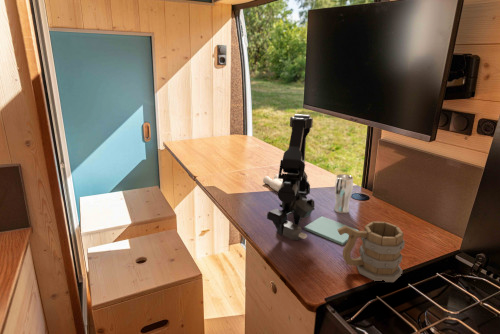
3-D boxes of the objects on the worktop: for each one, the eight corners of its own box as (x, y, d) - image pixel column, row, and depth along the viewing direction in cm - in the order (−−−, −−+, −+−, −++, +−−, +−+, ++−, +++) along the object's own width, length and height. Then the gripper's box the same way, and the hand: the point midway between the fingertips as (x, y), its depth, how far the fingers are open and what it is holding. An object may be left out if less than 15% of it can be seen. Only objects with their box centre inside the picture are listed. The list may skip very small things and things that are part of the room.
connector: (274, 231, 129) (274, 221, 127) (281, 227, 131) (281, 218, 130) (302, 244, 121) (302, 234, 119) (308, 239, 123) (309, 229, 122)
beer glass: (329, 208, 147) (332, 175, 142) (343, 205, 150) (346, 173, 145) (339, 215, 141) (342, 181, 136) (353, 212, 144) (357, 178, 139)
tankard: (391, 258, 113) (398, 216, 108) (406, 283, 101) (414, 238, 96) (329, 256, 114) (333, 215, 109) (337, 281, 102) (342, 236, 97)
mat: (304, 229, 130) (304, 226, 130) (321, 218, 139) (321, 216, 138) (342, 245, 120) (342, 242, 120) (358, 232, 128) (359, 230, 128)
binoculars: (280, 180, 178) (280, 172, 176) (299, 191, 164) (299, 182, 163) (262, 184, 173) (262, 175, 171) (280, 196, 160) (281, 186, 158)
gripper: (293, 206, 110) (290, 249, 115) (325, 189, 122) (321, 229, 128) (266, 196, 117) (265, 237, 122) (299, 181, 130) (297, 219, 135)
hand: (288, 230), depth 126 cm, fingers open, 9 cm apart
